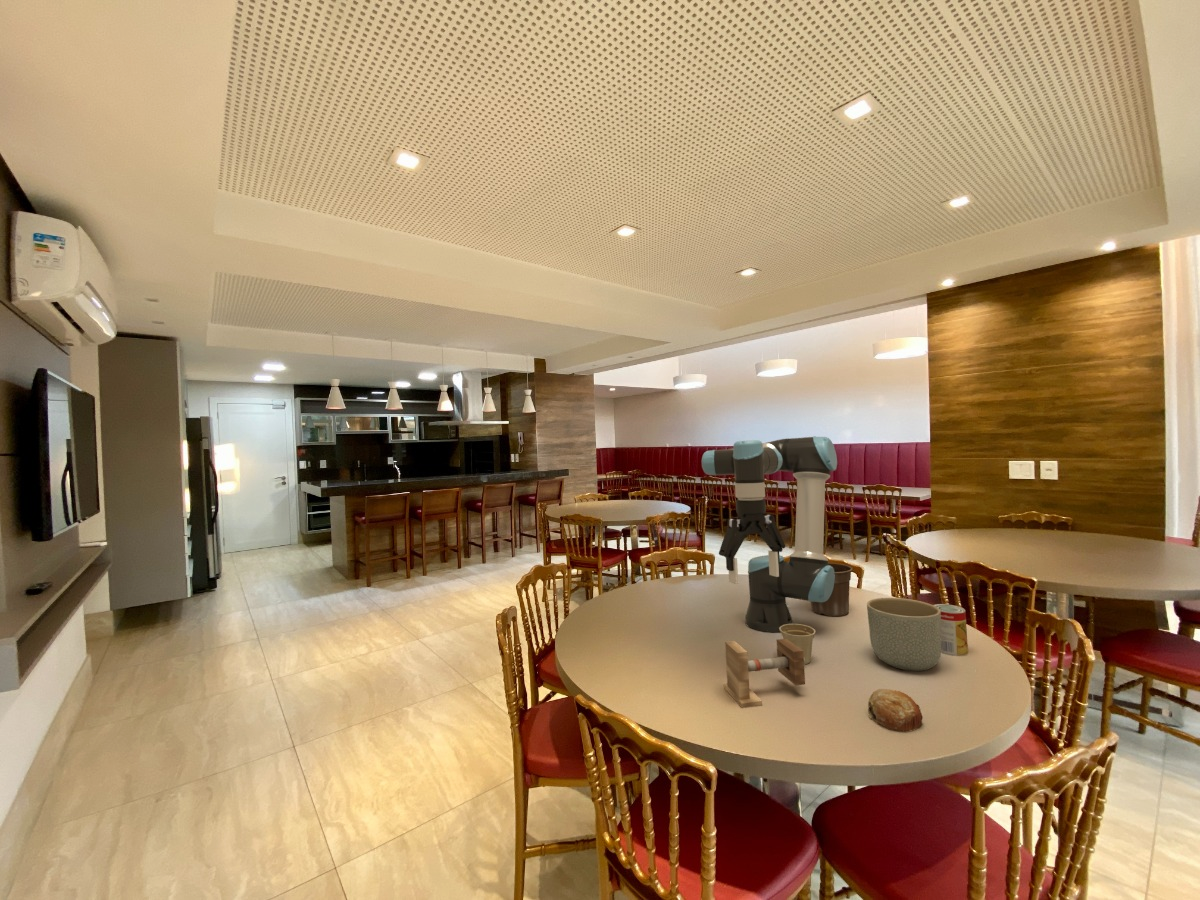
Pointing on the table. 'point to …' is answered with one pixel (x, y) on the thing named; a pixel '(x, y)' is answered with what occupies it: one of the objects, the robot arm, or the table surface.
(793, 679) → the collar
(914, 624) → the planter
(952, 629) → the canned food
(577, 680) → the table surface
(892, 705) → the bread roll
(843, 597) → the plant pot
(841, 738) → the table surface
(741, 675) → the rail stand
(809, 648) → the flower pot
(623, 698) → the table surface
